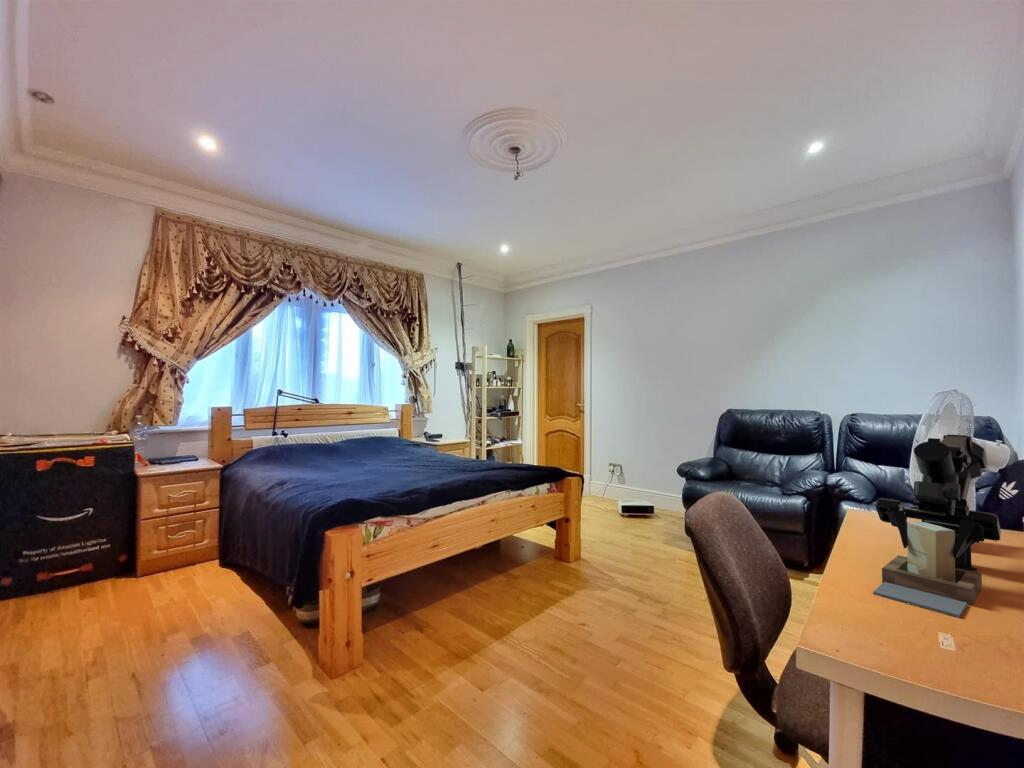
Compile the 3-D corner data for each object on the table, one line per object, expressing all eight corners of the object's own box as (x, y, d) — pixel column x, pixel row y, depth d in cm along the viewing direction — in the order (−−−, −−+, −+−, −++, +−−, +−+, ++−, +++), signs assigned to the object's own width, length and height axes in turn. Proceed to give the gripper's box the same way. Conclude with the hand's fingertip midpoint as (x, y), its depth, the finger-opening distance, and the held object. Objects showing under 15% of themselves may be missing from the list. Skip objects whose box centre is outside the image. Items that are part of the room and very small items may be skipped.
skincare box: (906, 579, 94) (904, 521, 94) (925, 579, 94) (923, 521, 95) (938, 592, 87) (935, 530, 88) (958, 591, 88) (955, 529, 88)
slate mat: (884, 584, 91) (884, 581, 91) (967, 605, 82) (967, 602, 82) (873, 594, 87) (873, 591, 87) (959, 618, 77) (959, 615, 77)
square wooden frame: (898, 568, 100) (898, 555, 100) (982, 588, 90) (981, 573, 90) (882, 582, 92) (881, 568, 92) (971, 605, 82) (970, 589, 82)
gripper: (876, 462, 102) (862, 518, 94) (996, 472, 87) (991, 540, 80) (887, 493, 106) (874, 548, 99) (1002, 507, 91) (998, 574, 84)
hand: (928, 551), depth 90 cm, fingers closed on skincare box, 7 cm apart
